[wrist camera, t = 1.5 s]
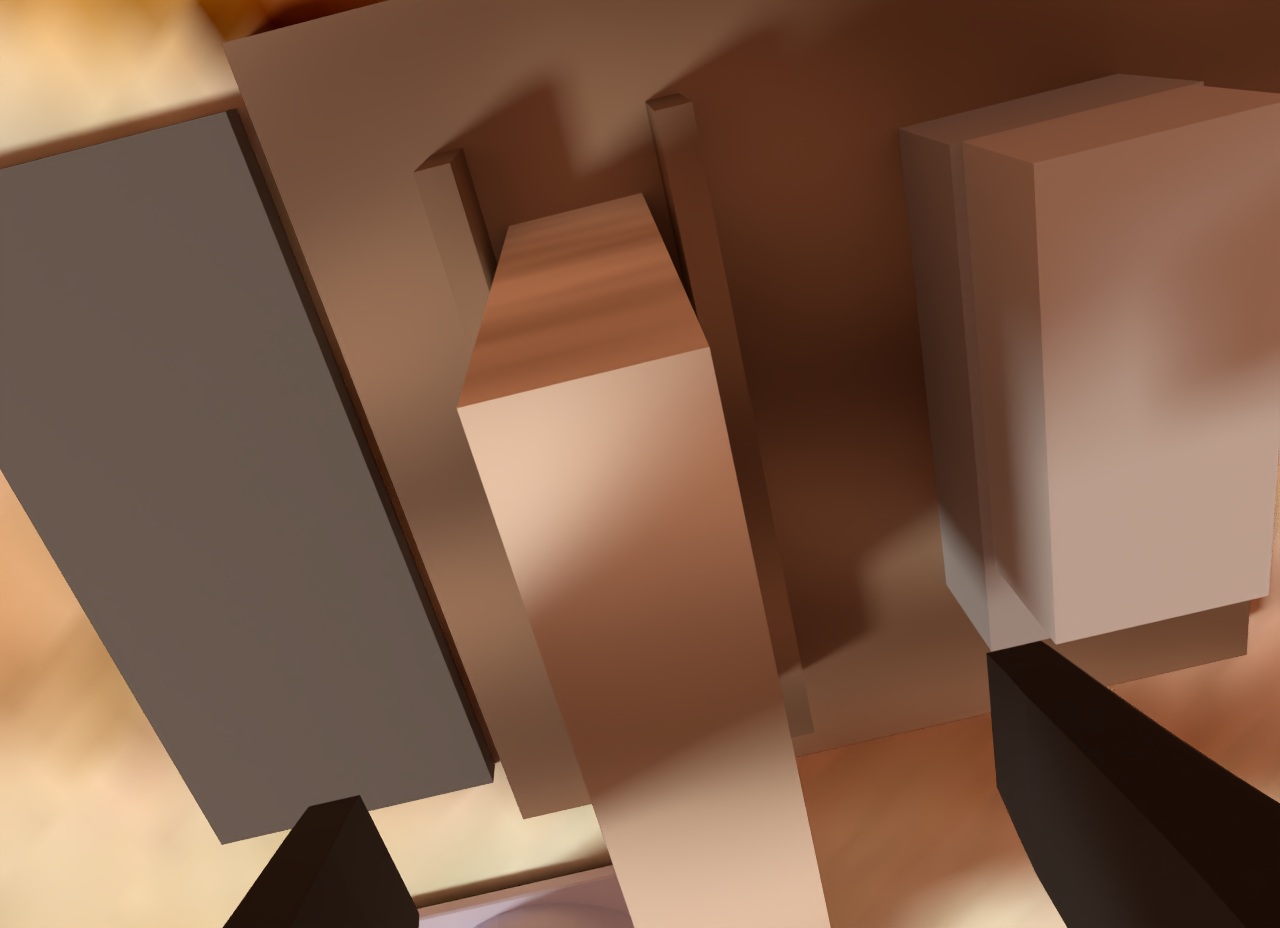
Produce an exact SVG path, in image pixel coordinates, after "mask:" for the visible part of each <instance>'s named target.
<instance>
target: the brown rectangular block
mask: <svg viewBox="0 0 1280 928" xmlns="http://www.w3.org/2000/svg"><path fill="white" fill-rule="evenodd" d="M457 411H458V414H459V416H460V419H461V422H462V425H463V428H464V431H465V434H466V437H467V440H468V443H469V446H470V449H471V452H472V454H473V457H474V460H475V463H476V466H477V469H478V472H479V475H480V478H481V481H482V484H483V487H484V490H485V492H486V495H487V498H488V501H489V504H490V507H491V510H492V513H493V516H494V519H495V522H496V525H497V527H498V530H499V533H500V536H501V539H502V542H503V545H504V548H505V551H506V554H507V557H508V560H509V563H510V565H511V568H512V571H513V574H514V577H515V580H516V583H517V586H518V589H519V592H520V595H521V598H522V601H523V603H524V606H525V609H526V612H527V615H528V618H529V621H530V624H531V627H532V630H533V633H534V636H535V639H536V641H537V644H538V647H539V650H540V653H541V656H542V659H543V662H544V665H545V668H546V671H547V674H548V677H549V679H550V682H551V685H552V688H553V691H554V694H555V697H556V700H557V703H558V706H559V709H560V712H561V715H562V717H563V720H564V723H565V726H566V729H567V732H568V735H569V738H570V741H571V744H572V747H573V750H574V752H575V755H576V758H577V761H578V764H579V767H580V770H581V773H582V776H583V779H584V782H585V785H586V788H587V790H588V793H589V796H590V799H591V802H592V805H593V808H594V811H595V814H596V817H597V820H598V823H599V826H600V828H601V831H602V834H603V837H604V840H605V843H606V846H607V849H608V852H609V855H610V858H611V861H612V864H613V866H614V869H615V872H616V875H617V878H618V881H619V884H620V887H621V890H622V893H623V896H624V899H625V902H626V904H627V907H628V910H629V913H630V916H631V919H632V922H633V925H634V928H831V927H830V922H829V917H828V912H827V908H826V903H825V898H824V893H823V889H822V884H821V879H820V874H819V869H818V865H817V860H816V855H815V850H814V845H813V841H812V836H811V831H810V826H809V821H808V817H807V812H806V807H805V802H804V797H803V793H802V788H801V783H800V778H799V773H798V769H797V764H796V759H795V754H794V750H793V745H792V740H791V735H790V730H789V726H788V721H787V716H786V711H785V706H784V702H783V697H782V692H781V687H780V682H779V678H778V673H777V668H776V663H775V658H774V654H773V649H772V644H771V639H770V635H769V630H768V625H767V620H766V615H765V611H764V606H763V601H762V596H761V591H760V587H759V582H758V577H757V572H756V567H755V563H754V558H753V553H752V548H751V543H750V539H749V534H748V529H747V524H746V519H745V515H744V510H743V505H742V500H741V496H740V491H739V486H738V481H737V476H736V472H735V467H734V462H733V457H732V452H731V448H730V443H729V438H728V433H727V428H726V424H725V419H724V414H723V409H722V404H721V400H720V395H719V390H718V385H717V381H716V376H715V371H714V366H713V361H712V357H711V352H710V347H709V345H708V342H707V340H706V338H705V335H704V333H703V331H702V329H701V326H700V324H699V322H698V319H697V317H696V315H695V313H694V310H693V308H692V306H691V304H690V301H689V299H688V297H687V294H686V292H685V290H684V288H683V285H682V283H681V281H680V278H679V276H678V274H677V272H676V269H675V267H674V265H673V263H672V260H671V258H670V256H669V253H668V251H667V249H666V247H665V244H664V242H663V240H662V237H661V235H660V233H659V231H658V228H657V226H656V224H655V221H654V219H653V217H652V215H651V212H650V210H649V208H648V206H647V203H646V201H645V199H644V196H643V194H642V193H639V194H635V195H631V196H627V197H623V198H619V199H615V200H611V201H607V202H603V203H599V204H595V205H591V206H587V207H583V208H579V209H575V210H571V211H567V212H563V213H559V214H555V215H551V216H547V217H543V218H539V219H535V220H531V221H527V222H523V223H519V224H515V225H511V226H509V227H508V231H507V234H506V238H505V241H504V245H503V248H502V252H501V255H500V259H499V262H498V266H497V269H496V273H495V276H494V280H493V283H492V287H491V290H490V294H489V297H488V301H487V304H486V308H485V311H484V315H483V318H482V322H481V325H480V329H479V332H478V336H477V339H476V343H475V346H474V350H473V353H472V357H471V360H470V364H469V367H468V371H467V374H466V378H465V381H464V385H463V388H462V392H461V395H460V399H459V402H458V406H457Z"/></svg>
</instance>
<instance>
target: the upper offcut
mask: <svg viewBox="0 0 1280 928" xmlns="http://www.w3.org/2000/svg"><path fill="white" fill-rule="evenodd" d="M962 149H963V162H964V175H965V188H966V201H967V214H968V226H969V239H970V252H971V265H972V278H973V291H974V304H975V317H976V329H977V342H978V355H979V368H980V381H981V394H982V407H983V419H984V432H985V445H986V458H987V471H988V484H989V497H990V510H991V522H992V535H993V548H994V561H995V568H996V569H997V570H998V572H999V573H1000V574H1001V575H1002V577H1003V578H1004V579H1005V580H1006V582H1007V583H1008V584H1009V586H1010V587H1011V588H1012V589H1013V591H1014V592H1015V593H1016V594H1017V596H1018V597H1019V598H1020V600H1021V601H1022V602H1023V603H1024V605H1025V606H1026V607H1027V608H1028V610H1029V611H1030V612H1031V614H1032V615H1033V616H1034V617H1035V619H1036V620H1037V621H1038V622H1039V624H1040V625H1041V626H1042V628H1043V629H1044V630H1045V631H1046V633H1047V634H1048V635H1049V636H1050V638H1051V639H1052V640H1053V642H1054V643H1055V644H1060V643H1065V642H1069V641H1074V640H1078V639H1082V638H1087V637H1091V636H1095V635H1100V634H1104V633H1108V632H1113V631H1117V630H1121V629H1126V628H1130V627H1134V626H1139V625H1143V624H1147V623H1152V622H1156V621H1161V620H1165V619H1169V618H1174V617H1178V616H1182V615H1187V614H1191V613H1195V612H1200V611H1204V610H1208V609H1213V608H1217V607H1221V606H1226V605H1230V604H1235V603H1239V602H1243V601H1248V600H1252V599H1256V598H1261V597H1265V596H1269V584H1270V571H1271V557H1272V543H1273V530H1274V516H1275V502H1276V488H1277V475H1278V461H1279V447H1280V94H1278V93H1268V92H1258V91H1248V90H1238V89H1228V88H1218V87H1208V86H1198V85H1188V86H1184V87H1180V88H1176V89H1172V90H1168V91H1164V92H1160V93H1156V94H1152V95H1148V96H1144V97H1140V98H1136V99H1132V100H1128V101H1124V102H1120V103H1116V104H1112V105H1108V106H1104V107H1100V108H1096V109H1092V110H1088V111H1084V112H1079V113H1075V114H1071V115H1067V116H1063V117H1059V118H1055V119H1051V120H1047V121H1043V122H1039V123H1035V124H1031V125H1027V126H1023V127H1019V128H1015V129H1011V130H1007V131H1003V132H999V133H995V134H991V135H987V136H983V137H979V138H975V139H971V140H967V141H963V142H962Z"/></svg>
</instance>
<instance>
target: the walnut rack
mask: <svg viewBox="0 0 1280 928" xmlns="http://www.w3.org/2000/svg"><path fill="white" fill-rule="evenodd" d="M222 46H223V49H224V51H225V54H226V57H227V59H228V62H229V64H230V67H231V69H232V72H233V75H234V77H235V80H236V82H237V85H238V87H239V90H240V93H241V95H242V98H243V100H244V103H245V105H246V108H247V111H248V113H249V116H250V118H251V121H252V123H253V126H254V129H255V131H256V134H257V136H258V139H259V141H260V144H261V146H262V149H263V152H264V154H265V157H266V159H267V162H268V164H269V167H270V170H271V172H272V175H273V177H274V180H275V182H276V185H277V188H278V190H279V193H280V195H281V198H282V200H283V203H284V206H285V208H286V211H287V213H288V216H289V218H290V221H291V224H292V226H293V229H294V231H295V234H296V236H297V239H298V242H299V244H300V247H301V249H302V252H303V254H304V257H305V260H306V262H307V265H308V267H309V270H310V272H311V275H312V278H313V280H314V283H315V285H316V288H317V290H318V293H319V296H320V298H321V301H322V303H323V306H324V308H325V311H326V314H327V316H328V319H329V321H330V324H331V326H332V329H333V331H334V334H335V337H336V339H337V342H338V344H339V347H340V349H341V352H342V355H343V357H344V360H345V362H346V365H347V367H348V370H349V373H350V375H351V378H352V380H353V383H354V385H355V388H356V391H357V393H358V396H359V398H360V401H361V403H362V406H363V409H364V411H365V414H366V416H367V419H368V421H369V424H370V427H371V429H372V432H373V434H374V437H375V439H376V442H377V445H378V447H379V450H380V452H381V455H382V457H383V460H384V463H385V465H386V468H387V470H388V473H389V475H390V478H391V481H392V483H393V486H394V488H395V491H396V493H397V496H398V499H399V501H400V504H401V506H402V509H403V511H404V514H405V517H406V519H407V522H408V524H409V527H410V529H411V532H412V534H413V537H414V540H415V542H416V545H417V547H418V550H419V552H420V555H421V558H422V560H423V563H424V565H425V568H426V570H427V573H428V576H429V578H430V581H431V583H432V586H433V588H434V591H435V594H436V596H437V599H438V601H439V604H440V606H441V609H442V612H443V614H444V617H445V619H446V622H447V624H448V627H449V630H450V632H451V635H452V637H453V640H454V642H455V645H456V648H457V650H458V653H459V655H460V658H461V660H462V663H463V666H464V668H465V671H466V673H467V676H468V678H469V681H470V684H471V686H472V689H473V691H474V694H475V696H476V699H477V702H478V704H479V707H480V709H481V712H482V714H483V717H484V720H485V722H486V725H487V727H488V730H489V732H490V735H491V737H492V740H493V743H494V745H495V748H496V750H497V753H498V755H499V758H500V761H501V763H502V766H503V768H504V771H505V773H506V776H507V779H508V781H509V784H510V786H511V789H512V791H513V794H514V797H515V799H516V802H517V804H518V807H519V809H520V812H521V815H522V817H523V819H527V818H531V817H536V816H540V815H545V814H549V813H553V812H558V811H562V810H567V809H571V808H575V807H580V806H584V805H588V804H592V802H591V799H590V796H589V793H588V790H587V788H586V785H585V782H584V779H583V776H582V773H581V770H580V767H579V764H578V761H577V758H576V755H575V752H574V750H573V747H572V744H571V741H570V738H569V735H568V732H567V729H566V726H565V723H564V720H563V717H562V715H561V712H560V709H559V706H558V703H557V700H556V697H555V694H554V691H553V688H552V685H551V682H550V679H549V677H548V674H547V671H546V668H545V665H544V662H543V659H542V656H541V653H540V650H539V647H538V644H537V641H536V639H535V636H534V633H533V630H532V627H531V624H530V621H529V618H528V615H527V612H526V609H525V606H524V603H523V601H522V598H521V595H520V592H519V589H518V586H517V583H516V580H515V577H514V574H513V571H512V568H511V565H510V563H509V560H508V557H507V554H506V551H505V548H504V545H503V542H502V539H501V536H500V533H499V530H498V527H497V525H496V522H495V519H494V516H493V513H492V510H491V507H490V504H489V501H488V498H487V495H486V492H485V490H484V487H483V484H482V481H481V478H480V475H479V472H478V469H477V466H476V463H475V460H474V457H473V454H472V452H471V449H470V446H469V443H468V440H467V437H466V434H465V431H464V428H463V425H462V422H461V419H460V416H459V414H458V411H457V406H458V402H459V399H460V395H461V392H462V388H463V385H464V381H465V378H466V374H467V371H468V367H469V364H470V360H471V357H472V353H473V350H474V346H475V343H476V339H477V336H478V332H479V329H480V325H481V322H482V318H483V315H484V311H485V308H486V304H487V301H488V297H489V294H490V290H491V287H492V283H493V280H494V276H495V273H496V269H497V266H498V262H499V259H500V255H501V252H502V248H503V245H504V241H505V238H506V234H507V231H508V227H509V226H511V225H515V224H519V223H523V222H527V221H531V220H535V219H539V218H543V217H547V216H551V215H555V214H559V213H563V212H567V211H571V210H575V209H579V208H583V207H587V206H591V205H595V204H599V203H603V202H607V201H611V200H615V199H619V198H623V197H627V196H631V195H635V194H639V193H642V194H643V196H644V199H645V201H646V203H647V206H648V208H649V210H650V212H651V215H652V217H653V219H654V221H655V224H656V226H657V228H658V231H659V233H660V235H661V237H662V240H663V242H664V244H665V247H666V249H667V251H668V253H669V256H670V258H671V260H672V263H673V265H674V267H675V269H676V272H677V274H678V276H679V278H680V281H681V283H682V285H683V288H684V290H685V292H686V294H687V297H688V299H689V301H690V304H691V306H692V308H693V310H694V313H695V315H696V317H697V319H698V322H699V324H700V326H701V329H702V331H703V333H704V335H705V338H706V340H707V342H708V345H709V347H710V352H711V357H712V361H713V366H714V371H715V376H716V381H717V385H718V390H719V395H720V400H721V404H722V409H723V414H724V419H725V424H726V428H727V433H728V438H729V443H730V448H731V452H732V457H733V462H734V467H735V472H736V476H737V481H738V486H739V491H740V496H741V500H742V505H743V510H744V515H745V519H746V524H747V529H748V534H749V539H750V543H751V548H752V553H753V558H754V563H755V567H756V572H757V577H758V582H759V587H760V591H761V596H762V601H763V606H764V611H765V615H766V620H767V625H768V630H769V635H770V639H771V644H772V649H773V654H774V658H775V663H776V668H777V673H778V678H779V682H780V687H781V692H782V697H783V702H784V706H785V711H786V716H787V721H788V726H789V730H790V735H791V740H792V745H793V750H794V754H795V757H799V756H804V755H808V754H812V753H817V752H821V751H825V750H830V749H834V748H839V747H843V746H847V745H852V744H856V743H861V742H865V741H869V740H874V739H878V738H883V737H887V736H891V735H896V734H900V733H904V732H909V731H913V730H918V729H922V728H926V727H931V726H935V725H940V724H944V723H948V722H953V721H957V720H962V719H966V718H970V717H975V716H979V715H984V714H988V713H991V706H990V693H989V681H988V669H987V656H986V653H989V652H991V650H990V649H989V647H988V646H987V644H986V643H985V641H984V640H983V638H982V637H981V635H980V634H979V632H978V631H977V629H976V628H975V626H974V625H973V623H972V622H971V620H970V619H969V617H968V616H967V614H966V613H965V612H964V610H963V609H962V607H961V606H960V604H959V603H958V601H957V600H956V598H955V597H954V595H953V594H952V592H951V591H950V589H949V588H948V586H947V585H946V575H945V566H944V556H943V547H942V537H941V528H940V518H939V509H938V499H937V490H936V480H935V471H934V461H933V452H932V442H931V433H930V423H929V414H928V404H927V395H926V385H925V376H924V366H923V357H922V347H921V338H920V328H919V319H918V309H917V300H916V290H915V281H914V271H913V262H912V252H911V243H910V233H909V224H908V214H907V205H906V195H905V186H904V176H903V167H902V157H901V148H900V138H899V128H903V127H907V126H911V125H915V124H919V123H923V122H927V121H931V120H935V119H939V118H943V117H947V116H951V115H955V114H959V113H963V112H967V111H971V110H975V109H979V108H983V107H987V106H991V105H995V104H999V103H1003V102H1007V101H1011V100H1015V99H1019V98H1023V97H1027V96H1031V95H1035V94H1039V93H1043V92H1047V91H1051V90H1055V89H1059V88H1063V87H1067V86H1071V85H1075V84H1079V83H1083V82H1087V81H1091V80H1095V79H1099V78H1103V77H1107V76H1111V75H1115V74H1128V75H1139V76H1149V77H1160V78H1171V79H1182V80H1192V81H1203V82H1204V86H1208V87H1218V88H1228V89H1238V90H1248V91H1258V92H1268V93H1278V94H1280V0H387V1H383V2H380V3H376V4H372V5H368V6H364V7H360V8H357V9H353V10H349V11H345V12H341V13H337V14H333V15H330V16H326V17H322V18H318V19H314V20H310V21H307V22H303V23H299V24H295V25H291V26H287V27H283V28H280V29H276V30H272V31H268V32H264V33H260V34H256V35H253V36H249V37H245V38H241V39H237V40H233V41H230V42H226V43H222ZM1249 607H1250V600H1248V601H1243V602H1239V603H1235V604H1230V605H1226V606H1221V607H1217V608H1213V609H1208V610H1204V611H1200V612H1195V613H1191V614H1187V615H1182V616H1178V617H1174V618H1169V619H1165V620H1161V621H1156V622H1152V623H1147V624H1143V625H1139V626H1134V627H1130V628H1126V629H1121V630H1117V631H1113V632H1108V633H1104V634H1100V635H1095V636H1091V637H1087V638H1082V639H1078V640H1074V641H1069V642H1065V643H1060V644H1055V643H1054V642H1053V640H1052V639H1051V638H1049V639H1045V640H1040V641H1042V642H1044V643H1046V644H1047V645H1049V646H1050V647H1052V648H1053V649H1055V650H1056V651H1057V652H1059V653H1060V654H1061V655H1063V656H1064V657H1066V658H1067V659H1068V660H1070V661H1071V662H1072V663H1074V664H1075V665H1077V666H1078V667H1079V668H1081V669H1082V670H1083V671H1085V672H1086V673H1088V674H1089V675H1090V676H1092V677H1093V678H1094V679H1096V680H1097V681H1098V682H1100V683H1101V684H1103V685H1104V686H1105V687H1106V686H1111V685H1115V684H1120V683H1124V682H1128V681H1133V680H1137V679H1142V678H1146V677H1150V676H1155V675H1159V674H1163V673H1168V672H1172V671H1177V670H1181V669H1185V668H1190V667H1194V666H1199V665H1203V664H1207V663H1212V662H1216V661H1221V660H1225V659H1229V658H1234V657H1238V656H1242V655H1247V639H1248V623H1249ZM1036 642H1037V641H1036ZM1031 643H1033V642H1031ZM1027 644H1028V643H1027ZM1023 645H1024V644H1023ZM1018 646H1020V645H1018ZM1014 647H1015V646H1014ZM1010 648H1011V647H1010ZM1005 649H1006V648H1005ZM1001 650H1002V649H1001ZM992 652H993V651H992Z"/></svg>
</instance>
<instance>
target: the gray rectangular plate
mask: <svg viewBox="0 0 1280 928" xmlns="http://www.w3.org/2000/svg"><path fill="white" fill-rule="evenodd" d="M0 469H1V471H2V473H3V474H4V476H5V478H6V480H7V481H8V483H9V485H10V486H11V488H12V490H13V491H14V493H15V495H16V497H17V498H18V500H19V502H20V503H21V505H22V507H23V508H24V510H25V512H26V513H27V515H28V517H29V519H30V520H31V522H32V524H33V525H34V527H35V529H36V530H37V532H38V534H39V536H40V537H41V539H42V541H43V542H44V544H45V546H46V547H47V549H48V551H49V552H50V554H51V556H52V558H53V559H54V561H55V563H56V564H57V566H58V568H59V569H60V571H61V573H62V575H63V576H64V578H65V580H66V581H67V583H68V585H69V586H70V588H71V590H72V591H73V593H74V595H75V597H76V598H77V600H78V602H79V603H80V605H81V607H82V608H83V610H84V612H85V614H86V615H87V617H88V619H89V620H90V622H91V624H92V625H93V627H94V629H95V630H96V632H97V634H98V636H99V637H100V639H101V641H102V642H103V644H104V646H105V647H106V649H107V651H108V653H109V654H110V656H111V658H112V659H113V661H114V663H115V664H116V666H117V668H118V669H119V671H120V673H121V675H122V676H123V678H124V680H125V681H126V683H127V685H128V686H129V688H130V690H131V692H132V693H133V695H134V697H135V698H136V700H137V702H138V703H139V705H140V707H141V708H142V710H143V712H144V714H145V715H146V717H147V719H148V720H149V722H150V724H151V725H152V727H153V729H154V731H155V732H156V734H157V736H158V737H159V739H160V741H161V742H162V744H163V746H164V747H165V749H166V751H167V753H168V754H169V756H170V758H171V759H172V761H173V763H174V764H175V766H176V768H177V770H178V771H179V773H180V775H181V776H182V778H183V780H184V781H185V783H186V785H187V786H188V788H189V790H190V792H191V793H192V795H193V797H194V798H195V800H196V802H197V803H198V805H199V807H200V809H201V810H202V812H203V814H204V815H205V817H206V819H207V820H208V822H209V824H210V825H211V827H212V829H213V831H214V832H215V834H216V836H217V837H218V839H219V841H220V842H221V844H222V845H223V844H227V843H232V842H236V841H240V840H245V839H249V838H253V837H258V836H262V835H267V834H271V833H275V832H280V831H284V830H288V829H292V828H293V827H294V826H295V824H296V823H297V822H298V820H299V819H300V818H301V816H302V815H303V813H304V812H305V811H306V809H307V808H308V807H309V806H313V805H317V804H322V803H326V802H330V801H335V800H339V799H344V798H348V797H353V796H357V795H360V796H361V798H362V800H363V802H364V804H365V806H366V808H367V810H368V811H371V810H375V809H380V808H384V807H389V806H393V805H397V804H402V803H406V802H410V801H415V800H419V799H423V798H428V797H432V796H436V795H441V794H445V793H450V792H454V791H458V790H463V789H467V788H471V787H476V786H480V785H484V784H489V783H493V779H494V769H495V764H494V762H493V759H492V757H491V754H490V752H489V749H488V747H487V744H486V741H485V739H484V736H483V734H482V731H481V729H480V726H479V724H478V721H477V719H476V716H475V714H474V711H473V708H472V706H471V703H470V701H469V698H468V696H467V693H466V691H465V688H464V686H463V683H462V680H461V678H460V675H459V673H458V670H457V668H456V665H455V663H454V660H453V658H452V655H451V653H450V650H449V647H448V645H447V642H446V640H445V637H444V635H443V632H442V630H441V627H440V625H439V622H438V620H437V617H436V614H435V612H434V609H433V607H432V604H431V602H430V599H429V597H428V594H427V592H426V589H425V587H424V584H423V581H422V579H421V576H420V574H419V571H418V569H417V566H416V564H415V561H414V559H413V556H412V553H411V551H410V548H409V546H408V543H407V541H406V538H405V536H404V533H403V531H402V528H401V526H400V523H399V520H398V518H397V515H396V513H395V510H394V508H393V505H392V503H391V500H390V498H389V495H388V493H387V490H386V487H385V485H384V482H383V480H382V477H381V475H380V472H379V470H378V467H377V465H376V462H375V460H374V457H373V454H372V452H371V449H370V447H369V444H368V442H367V439H366V437H365V434H364V432H363V429H362V427H361V424H360V421H359V419H358V416H357V414H356V411H355V409H354V406H353V404H352V401H351V399H350V396H349V393H348V391H347V388H346V386H345V383H344V381H343V378H342V376H341V373H340V371H339V368H338V366H337V363H336V360H335V358H334V355H333V353H332V350H331V348H330V345H329V343H328V340H327V338H326V335H325V333H324V330H323V327H322V325H321V322H320V320H319V317H318V315H317V312H316V310H315V307H314V305H313V302H312V300H311V297H310V294H309V292H308V289H307V287H306V284H305V282H304V279H303V277H302V274H301V272H300V269H299V266H298V264H297V261H296V259H295V256H294V254H293V251H292V249H291V246H290V244H289V241H288V239H287V236H286V233H285V231H284V228H283V226H282V223H281V221H280V218H279V216H278V213H277V211H276V208H275V206H274V203H273V200H272V198H271V195H270V193H269V190H268V188H267V185H266V183H265V180H264V178H263V175H262V173H261V170H260V167H259V165H258V162H257V160H256V157H255V155H254V152H253V150H252V147H251V145H250V142H249V140H248V137H247V134H246V132H245V129H244V127H243V124H242V122H241V119H240V117H239V114H238V112H237V109H233V110H229V111H225V112H221V113H217V114H213V115H209V116H205V117H202V118H198V119H194V120H190V121H186V122H182V123H178V124H174V125H170V126H167V127H163V128H159V129H155V130H151V131H147V132H143V133H139V134H135V135H132V136H128V137H124V138H120V139H116V140H112V141H108V142H104V143H100V144H97V145H93V146H89V147H85V148H81V149H77V150H73V151H69V152H65V153H62V154H58V155H54V156H50V157H46V158H42V159H38V160H34V161H30V162H27V163H23V164H19V165H15V166H11V167H7V168H3V169H0Z"/></svg>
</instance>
